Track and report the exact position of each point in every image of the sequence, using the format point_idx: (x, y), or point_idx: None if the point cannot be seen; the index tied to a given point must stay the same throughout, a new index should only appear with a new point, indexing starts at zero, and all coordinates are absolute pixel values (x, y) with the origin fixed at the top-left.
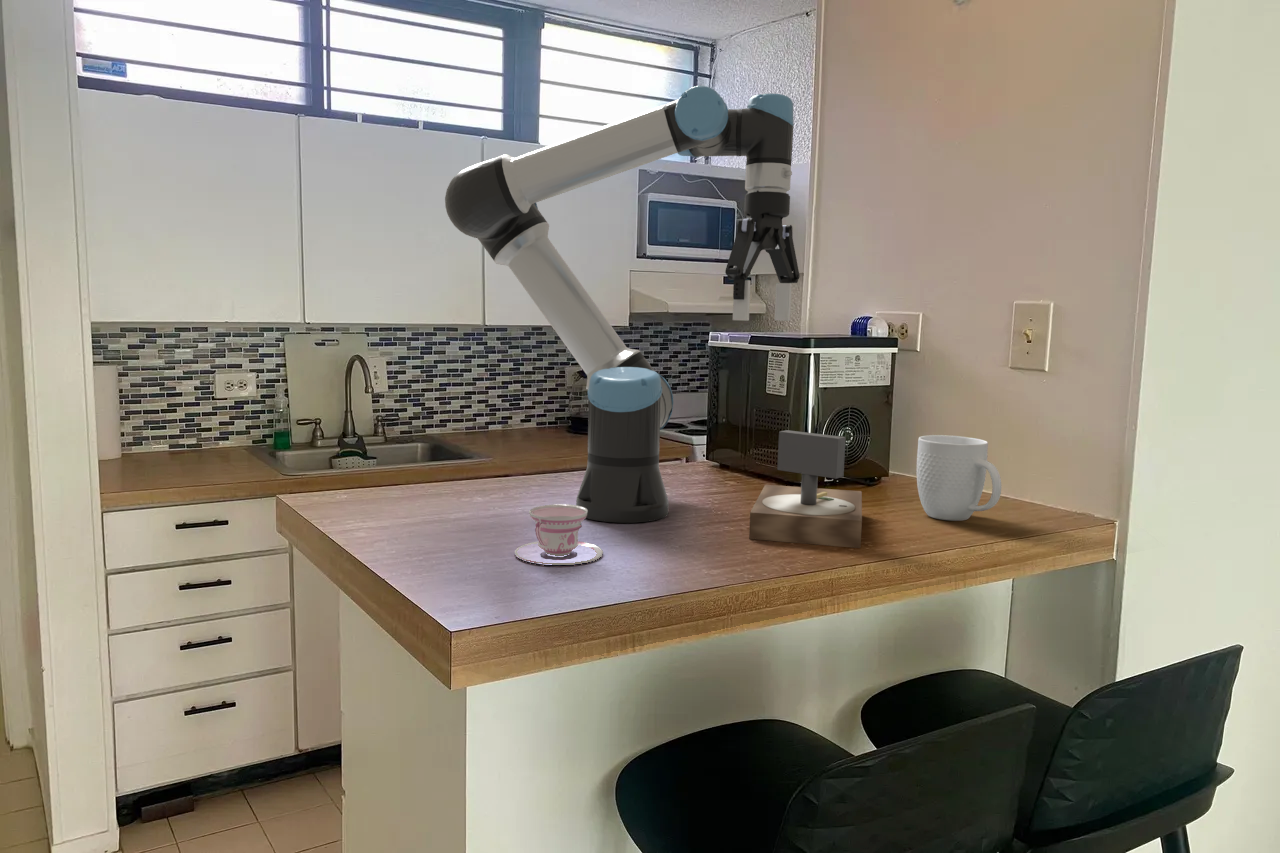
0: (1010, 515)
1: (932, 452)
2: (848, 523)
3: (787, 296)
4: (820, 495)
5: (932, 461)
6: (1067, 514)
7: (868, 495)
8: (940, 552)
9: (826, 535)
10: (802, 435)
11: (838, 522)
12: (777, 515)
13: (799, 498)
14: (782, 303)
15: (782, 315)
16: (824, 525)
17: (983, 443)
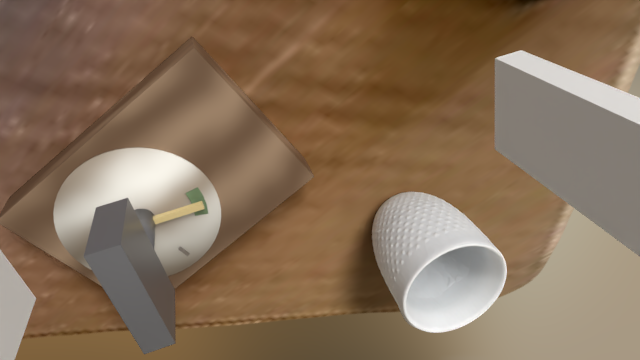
0: None
1: (396, 286)
2: None
3: (610, 221)
4: (178, 216)
5: (390, 277)
6: (524, 261)
7: (445, 59)
8: (227, 325)
9: None
10: (110, 298)
11: None
12: (39, 247)
13: (157, 183)
14: (571, 158)
15: (513, 126)
16: None
17: (481, 306)
